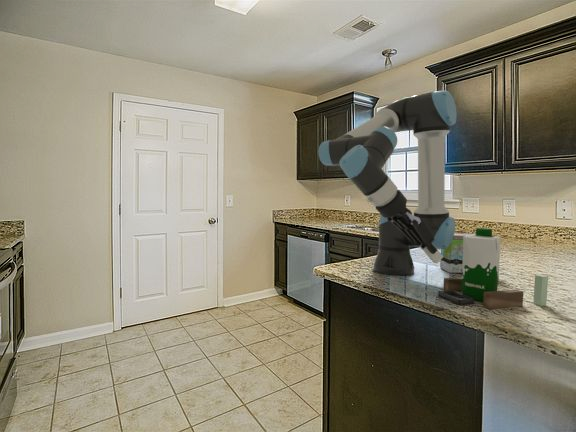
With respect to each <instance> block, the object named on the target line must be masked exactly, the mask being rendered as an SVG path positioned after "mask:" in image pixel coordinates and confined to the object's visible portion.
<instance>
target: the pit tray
mask: <svg viewBox="0 0 576 432" xmlns="http://www.w3.org/2000/svg"><path fill="white" fill-rule="evenodd" d="M437 296H438V298H441V299H444V300H445V301H449V302H450V303H453V304H455V305H456V306H464V305H465V306H466V305H475V300H474V298H472V297H469V296H467V295H464V294H462V292H456V291H453V290H450V291H443V290H441V291H440V290H439V291H438V294H437Z"/></svg>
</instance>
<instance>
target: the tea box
mask: <svg viewBox="0 0 576 432" xmlns="http://www.w3.org/2000/svg"><path fill="white" fill-rule="evenodd" d="M466 235H476V233H466V232H465V233H463V232H454V236H453V239H452V242H451V244H450V245H449V246H448V247H447V248H446V249H440V253H441V254H442V255H443V258H442V259H441V260H440V261H439V268H440V269H442V270H443V271H444V272H445V271H446V272H447V273H449V274H450V273H456V274H458V273H461V274H462V264H463V237H464V236H466Z"/></svg>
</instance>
